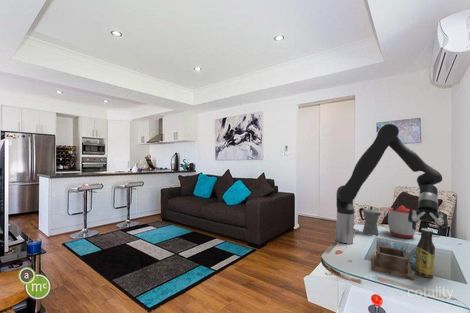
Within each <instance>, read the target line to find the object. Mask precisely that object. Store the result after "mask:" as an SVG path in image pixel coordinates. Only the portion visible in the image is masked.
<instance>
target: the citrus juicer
mask: <svg viewBox="0 0 470 313" xmlns="http://www.w3.org/2000/svg"><path fill="white" fill-rule="evenodd" d="M410 209H411V208H410ZM410 209H409V208H406V206H404V205H402V204H401V205H400V206H399V207H397V209H396V210H394V208H393V207H388V208H387V210H388V211H387V212H388V216H387V218H388V219H387V220H388V221H387V222H388V224H387V225H388V230H389V232H390V234H391V235H393V236H395V237H397V236H398V237H397V238H405V239H412V238H413V237H414V236H415V233H416V231H415V230H414V229H412V222H409V221H408V216H409V210H410ZM412 210H413V211H415V210H414V209H412ZM416 216H417V214H415V215H412V219H414V218H416Z"/></svg>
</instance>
